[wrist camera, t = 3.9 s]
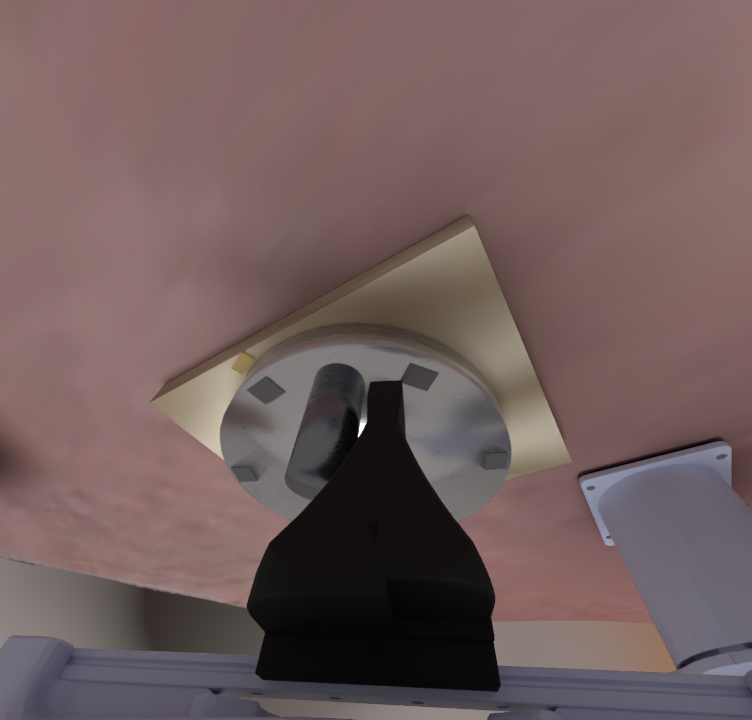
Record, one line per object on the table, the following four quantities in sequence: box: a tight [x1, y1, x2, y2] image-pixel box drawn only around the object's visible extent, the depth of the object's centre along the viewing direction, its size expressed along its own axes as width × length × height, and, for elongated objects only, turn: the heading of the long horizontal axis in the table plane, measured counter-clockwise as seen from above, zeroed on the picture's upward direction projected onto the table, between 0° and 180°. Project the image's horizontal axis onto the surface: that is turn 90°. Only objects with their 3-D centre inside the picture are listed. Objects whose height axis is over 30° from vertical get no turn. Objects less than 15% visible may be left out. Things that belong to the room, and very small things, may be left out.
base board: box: [149, 215, 572, 480], centre depth 19 cm, size 15×18×2 cm
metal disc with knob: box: [220, 324, 511, 522], centre depth 16 cm, size 14×14×6 cm
